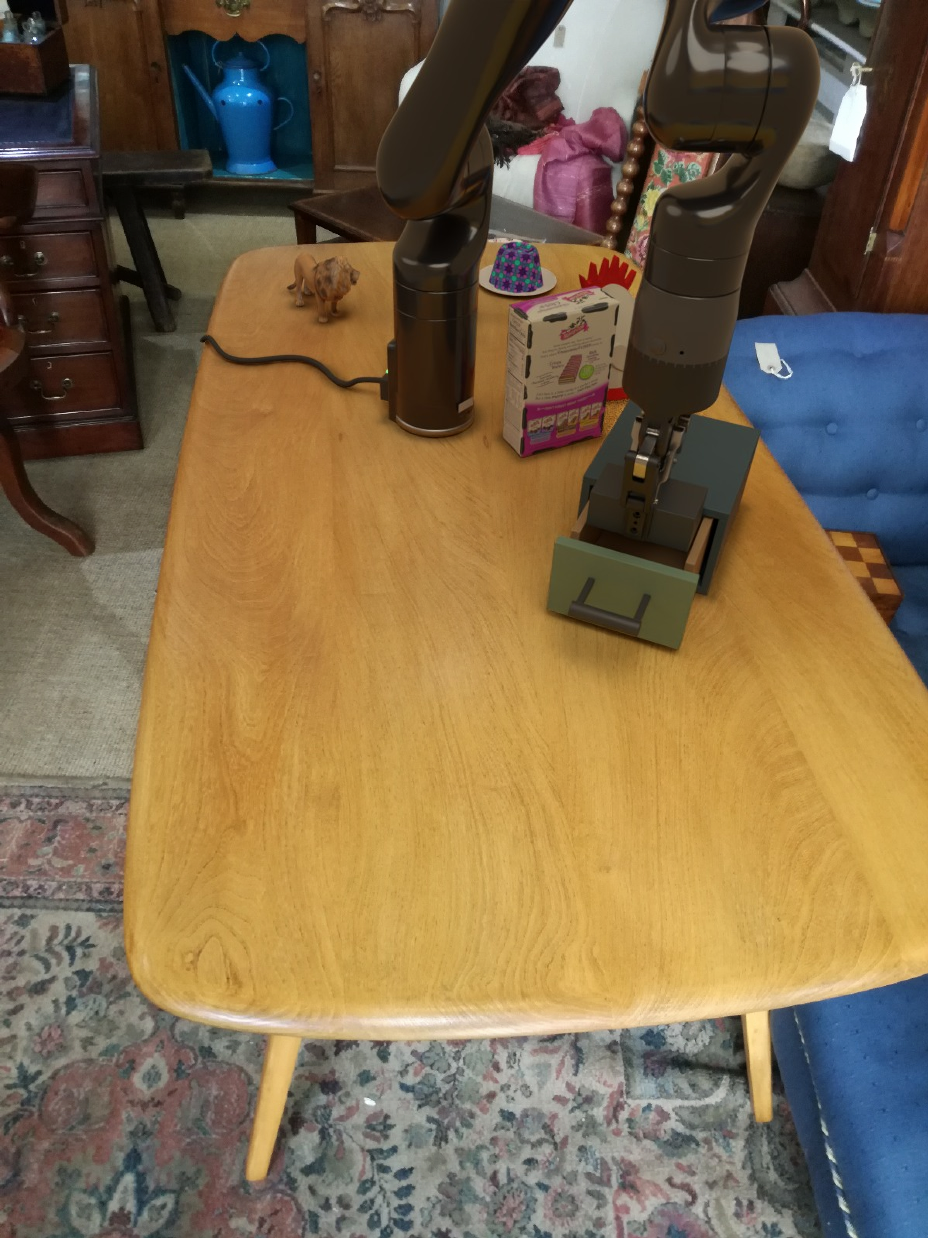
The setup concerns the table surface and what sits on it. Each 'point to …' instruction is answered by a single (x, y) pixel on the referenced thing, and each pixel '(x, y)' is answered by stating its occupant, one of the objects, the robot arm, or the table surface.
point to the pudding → (517, 271)
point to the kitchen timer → (618, 288)
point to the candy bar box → (558, 369)
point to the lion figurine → (323, 281)
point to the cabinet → (693, 471)
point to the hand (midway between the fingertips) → (643, 518)
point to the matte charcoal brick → (670, 516)
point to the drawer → (627, 581)
